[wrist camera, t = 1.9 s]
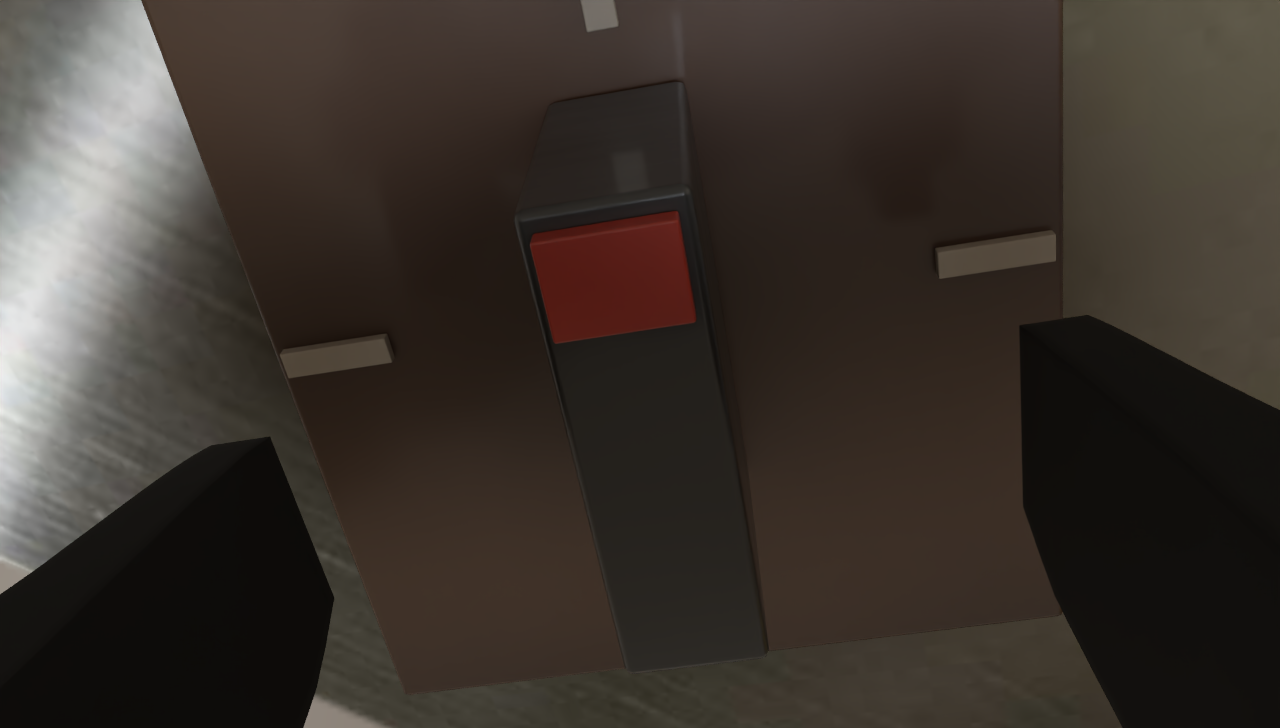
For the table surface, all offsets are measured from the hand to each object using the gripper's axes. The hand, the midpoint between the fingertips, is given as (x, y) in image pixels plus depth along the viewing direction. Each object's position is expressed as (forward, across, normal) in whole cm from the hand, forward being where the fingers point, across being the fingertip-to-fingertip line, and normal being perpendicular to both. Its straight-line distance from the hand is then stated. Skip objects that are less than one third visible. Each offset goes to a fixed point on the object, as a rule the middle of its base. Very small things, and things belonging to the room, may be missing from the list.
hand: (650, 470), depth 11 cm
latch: (+4, 0, 0) cm, 4 cm away
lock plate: (+7, 0, 0) cm, 7 cm away
